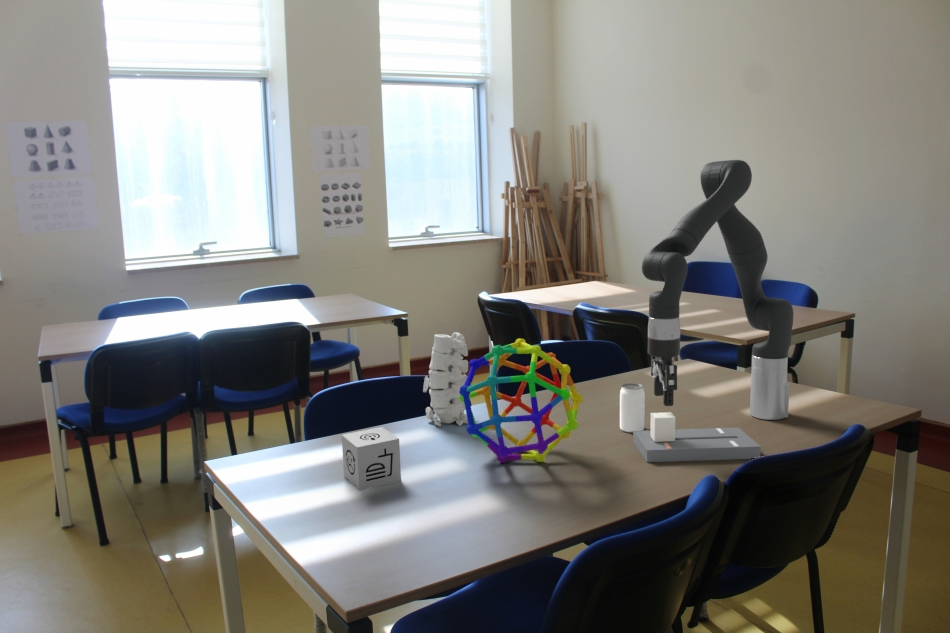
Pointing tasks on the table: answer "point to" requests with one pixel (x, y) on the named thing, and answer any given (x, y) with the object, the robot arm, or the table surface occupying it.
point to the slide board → (698, 445)
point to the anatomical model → (447, 379)
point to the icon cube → (371, 458)
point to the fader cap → (662, 427)
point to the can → (632, 407)
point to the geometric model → (536, 416)
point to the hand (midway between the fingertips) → (663, 400)
